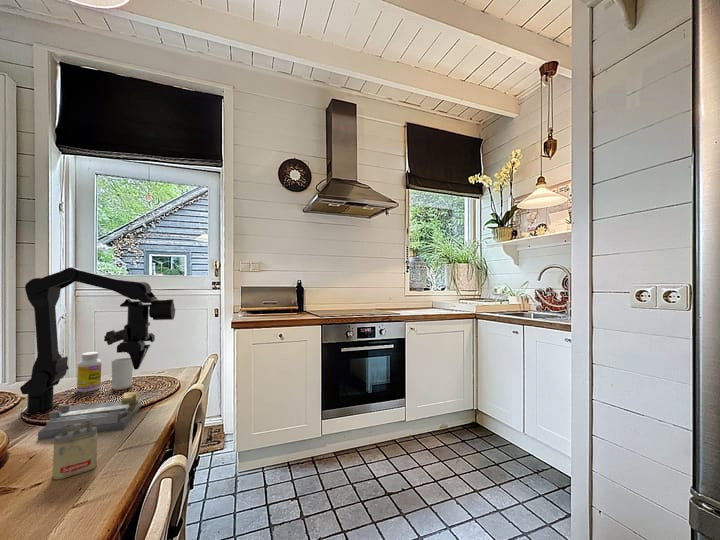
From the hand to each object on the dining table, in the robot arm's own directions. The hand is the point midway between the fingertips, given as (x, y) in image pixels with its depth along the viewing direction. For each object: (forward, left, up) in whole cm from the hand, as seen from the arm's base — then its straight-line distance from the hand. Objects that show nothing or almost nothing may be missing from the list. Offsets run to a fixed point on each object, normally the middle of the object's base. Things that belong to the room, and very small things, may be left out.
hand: (136, 368), depth 110 cm
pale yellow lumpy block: (+8, 0, -9) cm, 11 cm away
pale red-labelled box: (+41, -1, -11) cm, 42 cm away
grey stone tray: (+13, -6, -11) cm, 18 cm away
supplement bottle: (-19, -19, -11) cm, 29 cm away
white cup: (-19, -9, -11) cm, 24 cm away
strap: (+15, -6, -8) cm, 18 cm away
